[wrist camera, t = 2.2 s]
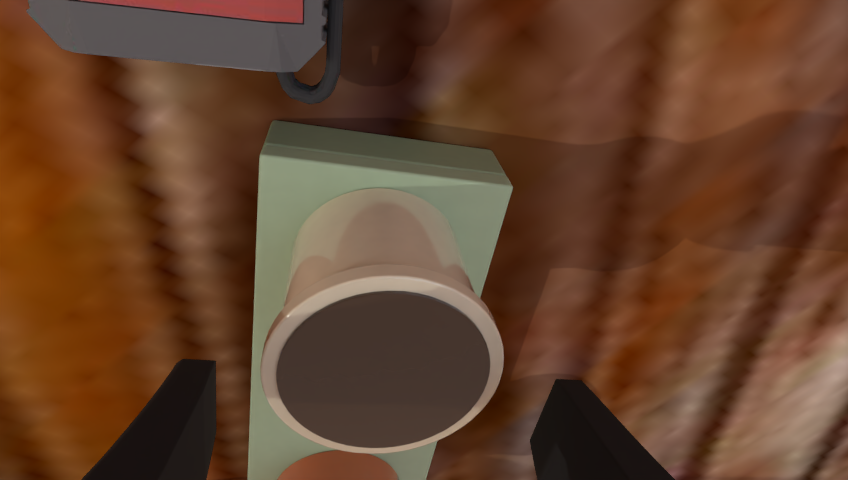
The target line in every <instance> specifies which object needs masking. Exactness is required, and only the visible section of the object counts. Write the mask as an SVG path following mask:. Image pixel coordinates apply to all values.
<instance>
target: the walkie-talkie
mask: <svg viewBox="0 0 848 480" xmlns="http://www.w3.org/2000/svg"><path fill="white" fill-rule="evenodd" d="M28 2H29V7H30V9H27V13H28V14H29V15H30V16H31V17H32V18H33V19H34V20H35V21H36V22H37V23H38V24H39V26H40V27H41V28H42V29H43V30H44V31H45V32H46V33H47V34H48V35H49V36H50V37H51V38H52V39H53V40H54V41H55V43H56V44H57V45H58V46H59V47H60V48H61V49H64V50H68V51H71V52H75V53H83V54H92V55H102V56H113V57H123V58H133V59H144V60H154V61H164V62H175V63H185V64H195V65H206V66H216V67H227V68H237V69H247V70H258V71H268V72H276V73H277V77H278V79H279V82H280V84H281V86H282V88H283V89H284V91H285V92H286V93H287V94H288V95H289V97H290V98H293V99H296V100H299V101H301V102H304V103H307V104H314V103H320V102H322V101H323V100H325V99H326V98H328V97H329V96H330V95H331V93H332V92H333V90H334V89H335V86H336V83H337V80H338V77H339V74H340V64H341V42H342V20H343V0H328V1H327V0H28ZM327 15H328V23H327V22H326V20H327ZM326 36H327V58H326V69H325V73H324V75H323V77H322V80H321V81H320V82H319V83H318V84H317V85H314V86H309V85H306V84H303V83H300V82H299V81H298V80H297V79H295V76H294V72H298V71H299V70H300V69H301V68H302V67H303V66H304V65H305V64H306V63H307V62H308V61H309V60H310V59H311V58H312V57H313V56H314V55H315V54H316V53H317V52H318V51H319V50H320V48H321V47H322V46H323V45H324V44H325V42H326Z"/></svg>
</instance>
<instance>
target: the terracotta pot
mask: <svg viewBox="0 0 848 480" xmlns="http://www.w3.org/2000/svg"><path fill="white" fill-rule="evenodd" d="M277 480H399V477H398V475H397V473H396V472H395V470H394V469H393V468H392V467H391V466H390V465H389V464H388V463H387V462H385V461H384V460H382V459H380V458H378V457H376V456H373V455H371V454H365V453H353V452H347V451H341V450H334V451H326V452H321V453H316V454H313V455H310V456H307V457H304V458H302V459H300V460H298V461H296V462H295V463H293V464H291V465H290V466H289V467H288V468H286V469H285V470H284V471H283V472H282V473H281V474H280V476H279V477H278V479H277Z"/></svg>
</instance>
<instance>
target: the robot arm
mask: <svg viewBox="0 0 848 480" xmlns="http://www.w3.org/2000/svg"><path fill="white" fill-rule="evenodd" d="M215 435H216V361H210V360H191V359H182V360H181V361H179V362H178V363H177V364H176V365H175V367H174V368H173V370H172V371H171V373H170V374H169V375H168V377H167V378H166V380H165V381H164V382H163V384H162V385H161V386H160V388H159V389H158V390H157V392H156V393H155V394H154V396H153V397H152V398H151V400H150V401H149V402H148V403H147V405H146V406H145V407H144V408H143V410H142V411H141V412H140V413H139V415H138V416H137V417H136V418H135V420H134V421H133V422H132V423H131V424H130V425H129V427H128V428H127V429H126V430H125V431H124V433H123V434H122V435H121V436H120V437H119V438H118V440H117V441H116V442H115V443H114V444H113V446H112V447H111V448H110V449H109V450H108V451H107V453H106V454H105V455H104V456H103V457H102V458H101V459H100V460H99V461H98V462H97V464H96V465H95V466H94V467H93V468H92V469H91V470H90V471H89V472H88V473H87V474H86V475H85V476H84V477H83V479H82V480H206V478H207V474H208V469H209V464H210V460H211V455H212V450H213V445H214V440H215ZM530 444H531V450H532V455H533V460H534V466H535V470H536V475H537V480H675V479H674V478H673V477H672V476H671V475H670V474H669V473H668V472H667V471H666V470H665V469H664V468H663V467H662V466H661V465H660V464H659V463H658V462H657V461H656V460H655V459H654V458H653V457H652V456H651V455H650V454H649V453H648V451H647V450H646V449H645V448H644V447H643V446H642V445H641V444H640V443H639V442H638V441H637V440H636V439H635V438H634V437H633V436H632V434H631V433H630V432H629V431H628V430H627V429H626V428H625V427H624V426H623V425H622V424H621V422H620V421H619V420H618V419H617V418H616V417H615V416H614V415H613V414H612V413H611V412H610V410H609V409H608V408H607V407H606V406H605V405H604V404H603V403H602V402H601V401H600V400H599V398H598V397H597V396H596V395H595V394H594V393H593V392H592V391H591V390H590V389H589V388H588V387H587V386H586V385H585V384H584V383H583V382H582V381H581V380H564V379H556V380H555V383H554V385H553V387H552V390H551V392H550V394H549V397H548V399H547V401H546V404H545V406H544V408H543V411H542V413H541V415H540V418H539V420H538V422H537V425H536V427H535V429H534V432H533V434H532V436H531V439H530Z"/></svg>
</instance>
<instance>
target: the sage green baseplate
mask: <svg viewBox="0 0 848 480" xmlns="http://www.w3.org/2000/svg"><path fill="white" fill-rule="evenodd" d="M371 188H385V189H394V190H399V191H403V192H407V193H410V194H413V195H415V196H417V197H419V198H422V199H424V200H425V201H427V202H428V203H430V204H432V205H433V206H434V207H435V208H436V209H438V210H439V211H440V212H441V213H442V214H443V215H444V216H445V217H446V219H447V220H448V221H449V223H450V224H451V226H452V228H453V230H454V232H455V234H456V236H457V240H458V243H459V246H460V249H461V252H462V255H463V258H464V261H465V264H466V267H467V270H468V273H469V277H470V280H471V283H472V286H473V289H474V292H475V294H476V295H477V296H478V297H479V298H480V296H481V293H482V290H483V286H484V283H485V279H486V276H487V273H488V269H489V266H490V263H491V259H492V256H493V253H494V249H495V246H496V243H497V239H498V236H499V233H500V229H501V226H502V222H503V219H504V216H505V212H506V209H507V206H508V202H509V199H510V196H511V192H512V189H513V186H512V184H511V183H510V181H509V179H508V177H506V174H505V172H504V171H503V169H502V167H501V166H500V164H499V162H498V160H497V159H496V157H495V155H494V154H493V152H492V151H491V150H487V149H479V148H472V147H465V146H458V145H451V144H443V143H436V142H429V141H422V140H414V139H407V138H400V137H393V136H386V135H378V134H371V133H364V132H357V131H350V130H342V129H335V128H328V127H321V126H313V125H306V124H299V123H292V122H285V121H277V120H274V121H272V123H271V126H270V129H269V131H268V134H267V137H266V140H265V142H264V146H263V148H262V151H261V153H260V156H259V180H258V207H257V234H256V261H255V288H254V315H253V342H252V369H251V397H250V424H249V451H248V478H247V480H277V479H278V477H279V476H280V474H281V473H282V472H283V471H284V470H285V469H286V468H288V467H289V466H290V465H291V464H293V463H295V462H296V461H298V460H300V459H302V458H304V457H307V456H310V455H313V454H316V453H321V452H326V451H334V450H337V449H333V448H329V447H326V446H323V445H320V444H318V443H315V442H313V441H311V440H309V439H307V438H305V437H303V436H301V435H300V434H298V433H297V432H295V431H294V430H292V429H291V428H290V427H289V426H287V425H286V424H285V423H284V422H283V421H282V420H281V419H280V418H279V417H278V416H277V414H276V413H275V412H274V410H273V409H272V407H271V406H270V404H269V402H268V400H267V398H266V396H265V393H264V391H263V387H262V382H261V372H260V366H261V359H262V353H263V348H264V343H265V340H266V337H267V334H268V331H269V329H270V327H271V325H272V323H273V322H274V320H275V318H276V317H277V316H278V314H279V313H280V312H281V310H282V306H283V300H284V294H285V288H286V282H287V276H288V271H289V265H290V259H291V253H292V247H293V244H294V241H295V238H296V236H297V234H298V232H299V230H300V228H301V227H302V225H303V224H304V222H305V221H306V220H307V219H308V217H309V216H310V215H311V214H312V213H313V212H314V211H316V210H317V209H318V208H319V207H321V206H322V205H323V204H325V203H327V202H328V201H330V200H332V199H334V198H336V197H338V196H340V195H343V194H346V193H349V192H352V191H356V190H362V189H371ZM436 444H437V441H436V442H433V443H430V444H428V445H425V446H421V447H418V448H414V449H410V450H405V451H400V452H393V453H382V454H371V455H373V456H376V457H378V458H380V459H382V460H384V461H385V462H387V463H388V464H389V465H390V466H391V467H392V468H393V469H394V470H395V472H396V473H397V475H398V477H399V480H426V477H427V474H428V470H429V467H430V464H431V460H432V457H433V454H434V450H435V447H436Z"/></svg>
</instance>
